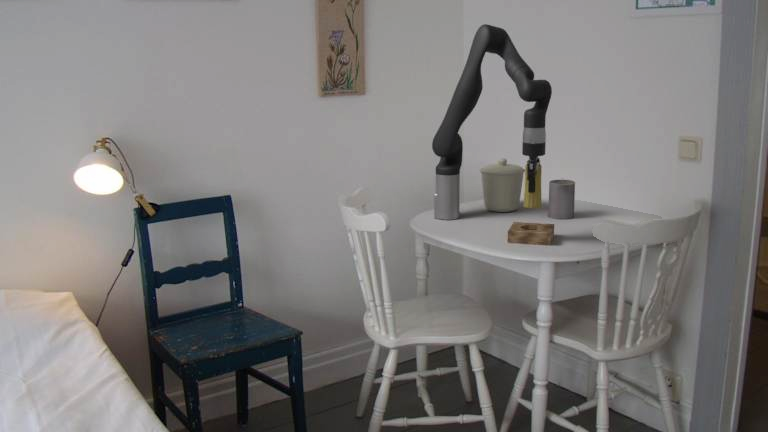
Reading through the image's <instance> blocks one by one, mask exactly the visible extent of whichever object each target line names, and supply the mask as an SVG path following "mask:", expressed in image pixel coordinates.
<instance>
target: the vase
mask: <svg viewBox="0 0 768 432" xmlns="http://www.w3.org/2000/svg"><path fill="white" fill-rule="evenodd" d="M542 168H543V167H542V164H540V165H539V166H538V174H537V175H536V182H535V192H534V193H529V192H528V183H529V181H528V180H527V163H526V164H525V172H524V175H525V178H524V192H523V193H524V194H523V207H524V208H525V209H541V208H542V205H543V204H542ZM535 172H536V169H535ZM530 177H533V175H530Z"/></svg>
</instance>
